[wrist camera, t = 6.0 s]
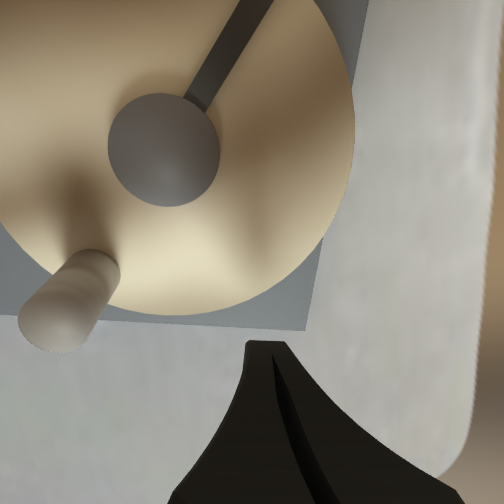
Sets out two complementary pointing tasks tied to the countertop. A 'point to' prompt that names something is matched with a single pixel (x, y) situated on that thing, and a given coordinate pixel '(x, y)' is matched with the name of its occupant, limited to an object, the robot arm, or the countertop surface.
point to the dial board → (240, 315)
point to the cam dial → (166, 152)
